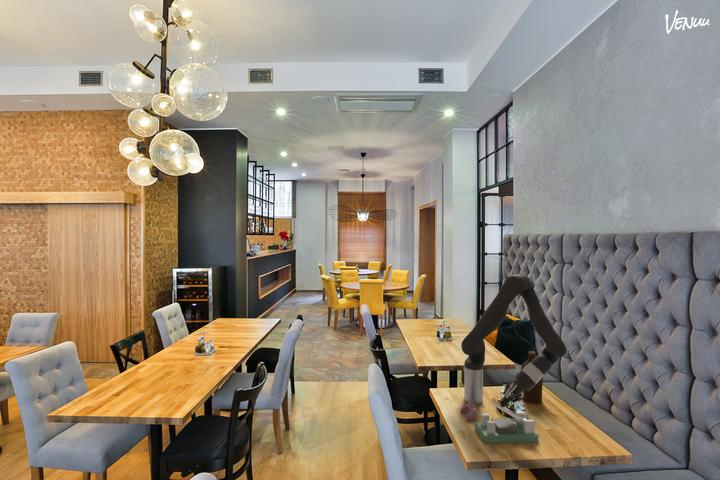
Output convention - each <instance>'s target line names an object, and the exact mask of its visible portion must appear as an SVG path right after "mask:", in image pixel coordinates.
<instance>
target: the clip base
mask: <svg viewBox="0 0 720 480" xmlns="http://www.w3.org/2000/svg"><path fill="white" fill-rule="evenodd" d="M515 413H516V414H518V415H520V416H523V417H524V418H525V419H526V420H523V422H521V421H519V420H518V419H516V418H514V419H515V421H512V419H510V417H503V418H502V417H500V418H499V417H498V418H494V417H493V418H491V419H490V415H489V413H481V414H480V421H479V422H476V421H475V424H474V426H475V428H474V429H475V431H476V432H477V434H478V435H479V437H480V438H481V439H482V441H483V443H484V444H499V443H500V444H501V443H502V444H503V443H506V444H507V443H512V444H513V443H539V434H538V432H536V428H535V427H536V426H535V425H536V424H535V423H536V421H535V420H534V419H527V412H525V411H515Z"/></svg>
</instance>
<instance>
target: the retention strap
mask: <svg viewBox="0 0 720 480" xmlns="http://www.w3.org/2000/svg"><path fill="white" fill-rule="evenodd" d="M490 403H491V404H492V405H493V406H494V407H495V408H497V409H498V410H501V411H502V412H504V413H506V414H507V415H509V416H510V417H512V418H513V419H515V418H516V419H518V420H519V421H521V422H523V420H527V418H526V419H525V418H524V417H523V416H520V415H518V414H516V412H515V411H512V410H511V409H509V408H507V407H506V406H505V407H502V406H501V405H500V403H499V400H498V399H497V398H495V397H492V398H491V401H490Z"/></svg>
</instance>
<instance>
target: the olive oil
mask: <svg viewBox="0 0 720 480" xmlns="http://www.w3.org/2000/svg"><path fill="white" fill-rule="evenodd" d="M536 356H537V355H536V351H533V350H530V351H528V359H527V360H525V361H524V362H523V363H522V364H521V366H520V371H521V370H522V369H523V368H524V367H525V366H526V365H528V364H529V363H530V362H531V361H532V360H533V359H534V358H535V357H536ZM543 382H544V376H543V377H542V378H541V380H540V381H539V382H538V383H537V384H536V385H535V386H534V387H533V388H532V389H531V390H530V391H528V390H526V391H525V393H524V394H523V396H524V397H525V398H524V399H523V401H525V402H527V403H530V404H540V403H542V402H543V384H544V383H543Z"/></svg>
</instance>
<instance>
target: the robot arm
mask: <svg viewBox="0 0 720 480" xmlns="http://www.w3.org/2000/svg"><path fill="white" fill-rule="evenodd" d="M519 295H520V296H521V297H522V299H523V300H524V302H525V305H526V307H527V312H528V316H529V320H530V322H531V325H532V326H533V328H534V330H535V331H536V333H537V335H538V337H540V338H541V339H542V341H543V343H544V344H545V346H544V348H543V349H542V350H541V351H540V352H539V354H538V355H536V357H535V358H534V359H533V360H532V361H531V362H530V363H529V364H528V365H526V366H525V367H524V368H523V369H522V370H521V369H520V371H519V372H518V373H516V374H515V376H514V379H515V380H514V381H513V382H511V383H509V382H507V383H506V384H505V387H504V390H503V392H502V393H503V397H502V398H501V399H500V400H498V402H499V403H500V405H501V406H502V407H506V406H507V405H508V404H509V403H511V402H512V403H516V402H520V401H522V400H523V399H524V398H525V397H524V396H523V394H524V393H525V391H526V390H528V391H530V390H531V389H532V388H533V387H534V386H535V385H536V384H537V383H538V382H539V381H540V380H541V378H542V377H543V378H544V376H545V375H546V374H547V373H548V372H549V371H550V370H551V368H552V366H553V365H554V364H555V363H556V362H557V361H559V360H560V359H561V358H563V357H564V356H565V355H566V354H567V347H566V344H565V342H564V341H563V339H562V337H561V336H560V335H559V334H558V333H557V332H556V331H555V328H554V327H553V325H552V323H551V321H550V319H549V318H548V316H547V315H546V313H545V311H544V309H543V307H542V305H541V303H540V301H539V298H538V296H537V293H536V291H535V289H534V285H533V284H532V281H531V279H530V277H529V276H528V275H525V274H521V273H520V274H519V273H518V274H511V275H509V276H508V277H507V278H505V280H504V282H503V284H502V285H501V288H500V289H499V291H498V293H497V294H496V296H495V297H494V299H492V301H491V302H490V304H489V306H487V308H486V309H485V310H484V312H483V313H482V315H481V317H479V319H478V321H477V322H476V323H475V325H474V327H473V328H472V329H471V330H470V332H469V333H468V334H467V335H466V336H465V337H464V338H463V339H462V342H461V345H460V347H461V350H462V352H463V354H465V355H466V356H467V357H466V359H465V360H464V366H463V367H464V369H463V370H464V384H463V385H464V390H463V391H464V392H463V393H464V398H463V401H464V402H467V403H468V402H469V403H472V404H474V405H479V404H482V403H483V401H484V399H483V398H484V364H485V360H486V359H485V358H486V344H485V343H486V342H485V341H484V340H485V339H486V338H487V337H488V336H489V335H491V334H492V333H493V332H495V330H497V329H498V328H499V327H500V326H501V325H502V323H503V322H504V320H505V319H506V317H507V315H508V310H509V308H510V307H509V306H510V305H511V303H512V302H513V301H514V300H515V298H516V297H517V296H519ZM523 401H524V400H523Z"/></svg>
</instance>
